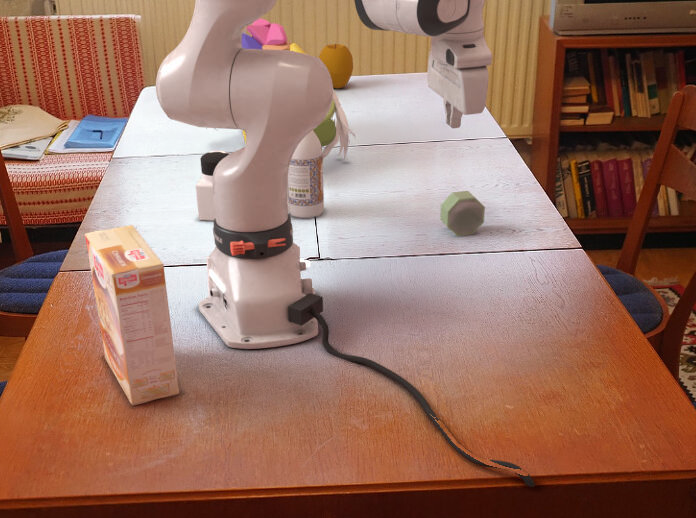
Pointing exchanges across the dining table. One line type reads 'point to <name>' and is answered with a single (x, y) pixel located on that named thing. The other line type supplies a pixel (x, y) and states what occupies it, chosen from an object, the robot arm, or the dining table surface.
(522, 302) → the dining table surface
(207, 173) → the medicine bottle
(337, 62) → the apple
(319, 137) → the colorful pinata
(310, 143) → the bath foam
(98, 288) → the coffeecake box
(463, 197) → the tin
